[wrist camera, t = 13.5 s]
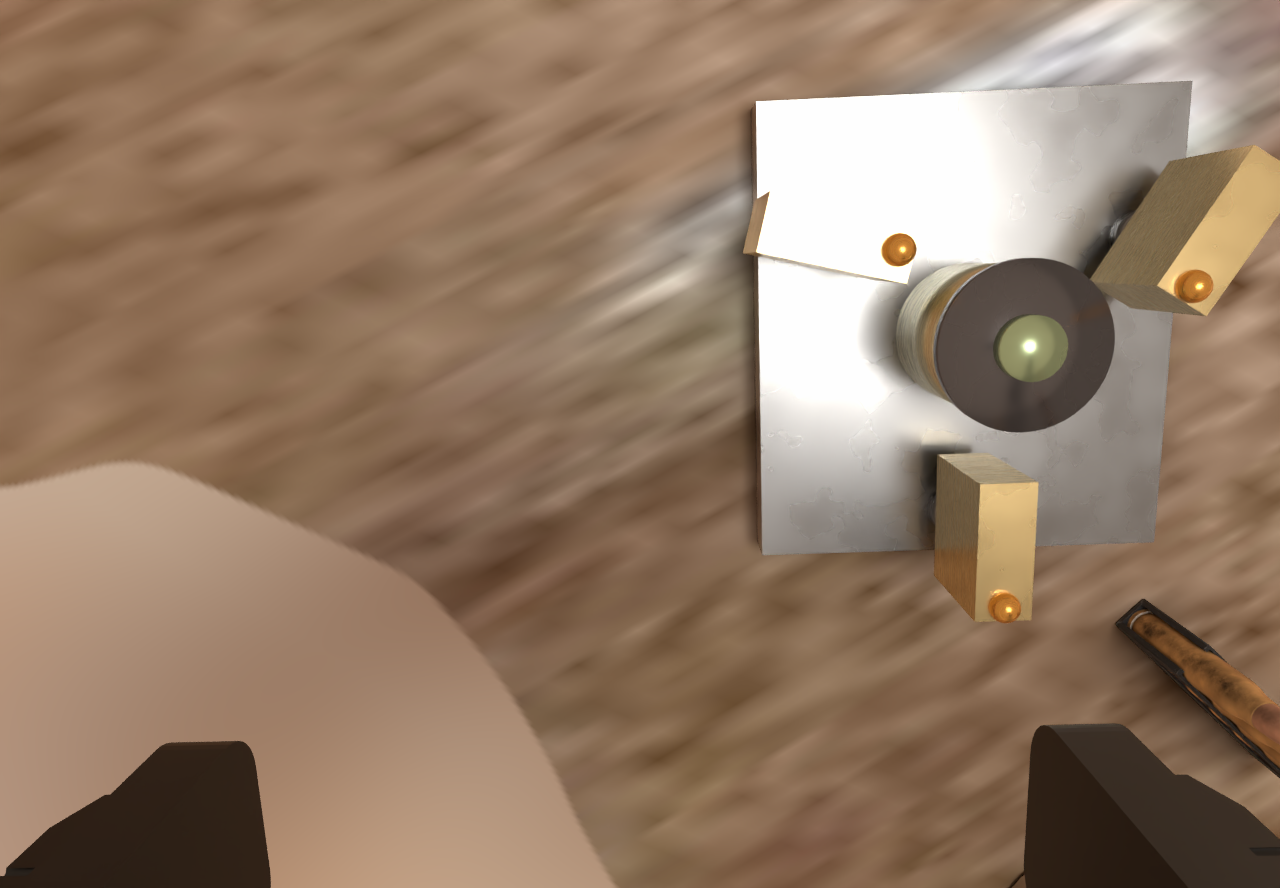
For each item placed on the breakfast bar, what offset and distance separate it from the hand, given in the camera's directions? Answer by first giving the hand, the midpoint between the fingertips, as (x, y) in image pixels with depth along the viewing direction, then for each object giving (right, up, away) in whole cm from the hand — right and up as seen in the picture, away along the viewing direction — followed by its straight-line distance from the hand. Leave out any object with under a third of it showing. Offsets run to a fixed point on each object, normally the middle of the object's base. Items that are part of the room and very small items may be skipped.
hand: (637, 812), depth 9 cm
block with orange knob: (+14, +1, +31) cm, 34 cm away
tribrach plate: (+14, +9, +32) cm, 36 cm away
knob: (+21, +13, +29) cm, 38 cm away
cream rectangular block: (+7, +13, +29) cm, 32 cm away
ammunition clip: (+28, -8, +35) cm, 46 cm away
